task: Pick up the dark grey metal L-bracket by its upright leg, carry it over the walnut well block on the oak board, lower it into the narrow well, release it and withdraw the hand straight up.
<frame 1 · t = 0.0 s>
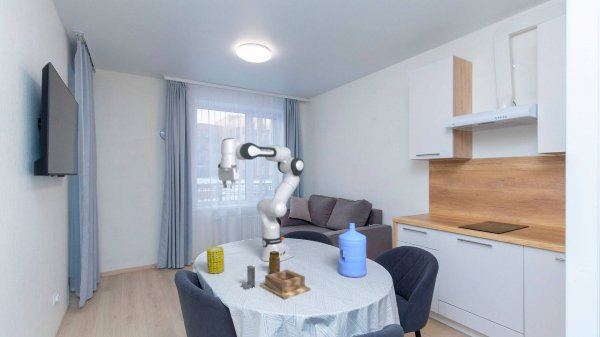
hand: (228, 188, 173), 48 cm above the table, fingers open, 8 cm apart
water jug: (352, 273, 165), on the table
well: (284, 288, 144), on the table
bracket: (248, 287, 145), on the table
condiment: (274, 274, 164), on the table
food: (215, 272, 168), on the table
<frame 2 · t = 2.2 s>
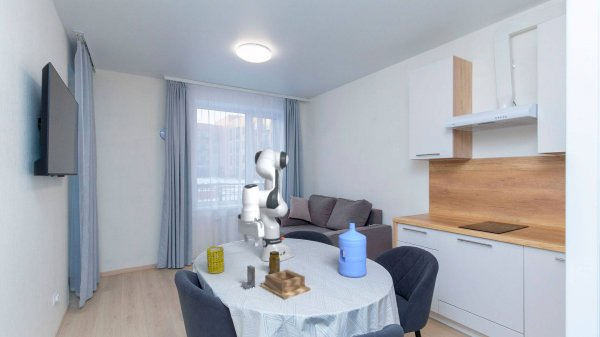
hand: (250, 244, 146), 21 cm above the table, fingers open, 8 cm apart
nothing on the table moved.
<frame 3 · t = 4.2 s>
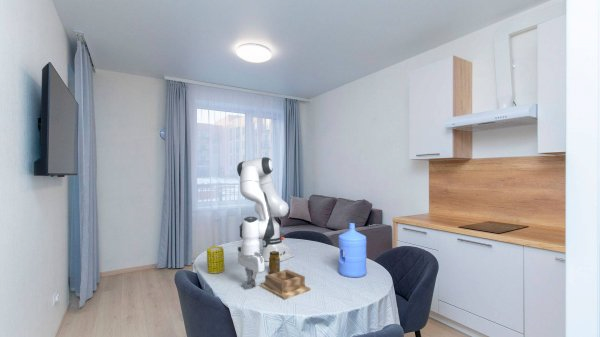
hand: (251, 277, 146), 5 cm above the table, fingers closed on bracket, 4 cm apart
bracket: (248, 287, 145), on the table, touching gripper
everything else where it was.
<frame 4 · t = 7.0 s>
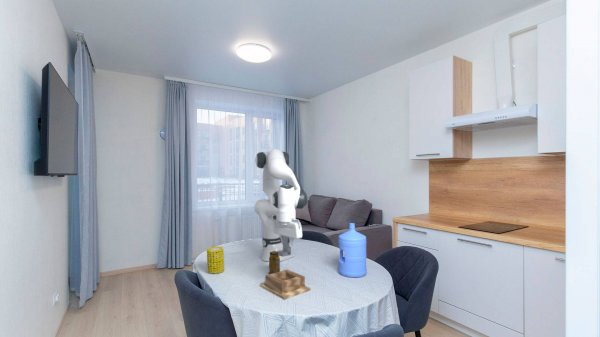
hand: (286, 245, 145), 21 cm above the table, fingers closed on bracket, 4 cm apart
bracket: (284, 254, 144), point 16 cm above the table, touching gripper
everything else where it was.
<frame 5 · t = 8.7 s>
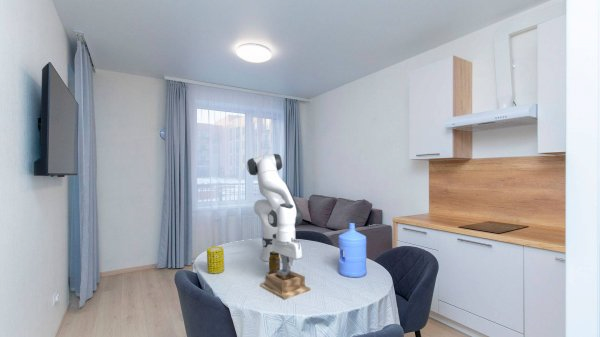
hand: (286, 264, 145), 11 cm above the table, fingers closed on bracket, 4 cm apart
bracket: (283, 274, 143), point 7 cm above the table, touching gripper
everything else where it was.
when the fingers open (8 cm above the table, at t = 9.8 s): bracket drops 2 cm, resting on well.
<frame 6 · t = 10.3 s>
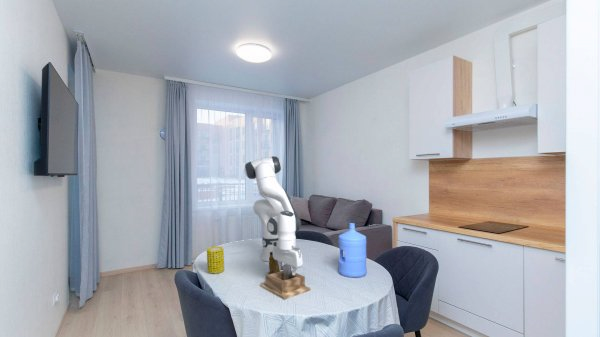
hand: (287, 272, 145), 8 cm above the table, fingers open, 8 cm apart
bracket: (284, 286, 144), point 1 cm above the table, touching well
everything else where it was.
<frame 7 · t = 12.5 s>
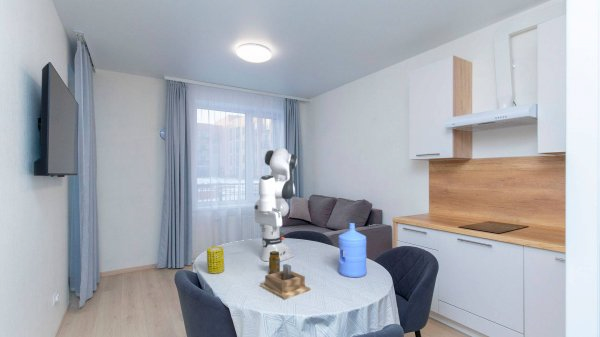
hand: (268, 233, 151), 26 cm above the table, fingers open, 8 cm apart
nothing on the table moved.
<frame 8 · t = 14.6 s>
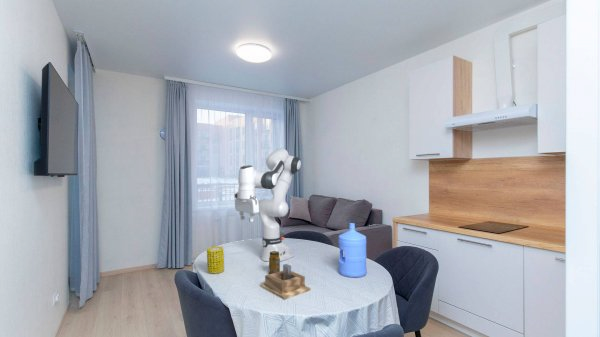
hand: (246, 220, 158), 31 cm above the table, fingers open, 8 cm apart
nothing on the table moved.
at the end: bracket 0.1 cm off-centre on the well, point 1.0 cm above the well's base; the gripper is holding nothing; bracket tilted 0° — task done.
